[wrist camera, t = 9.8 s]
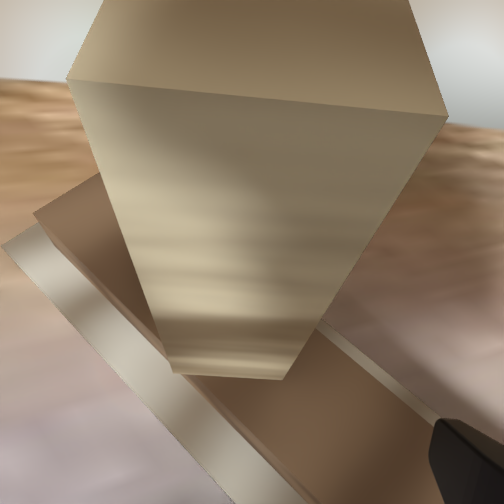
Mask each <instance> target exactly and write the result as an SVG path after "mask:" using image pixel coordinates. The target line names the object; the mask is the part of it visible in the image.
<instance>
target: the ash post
mask: <svg viewBox="0 0 504 504" xmlns="http://www.w3.org/2000/svg"><path fill="white" fill-rule="evenodd" d="M66 80H67V83H68V86H69V89H70V91H71V94H72V97H73V100H74V102H75V105H76V108H77V111H78V113H79V116H80V119H81V122H82V124H83V127H84V130H85V133H86V135H87V138H88V141H89V144H90V146H91V149H92V152H93V155H94V157H95V160H96V163H97V166H98V168H99V171H100V174H101V177H102V179H103V182H104V185H105V188H106V190H107V193H108V196H109V199H110V201H111V204H112V207H113V210H114V212H115V215H116V218H117V221H118V223H119V226H120V229H121V232H122V234H123V237H124V240H125V243H126V245H127V248H128V251H129V254H130V256H131V259H132V262H133V265H134V267H135V270H136V273H137V276H138V278H139V281H140V284H141V287H142V289H143V292H144V295H145V298H146V300H147V303H148V306H149V309H150V311H151V314H152V317H153V320H154V322H155V325H156V328H157V330H158V333H159V336H160V339H161V341H162V344H163V347H164V350H165V352H166V355H167V358H168V361H169V363H170V366H171V369H172V372H173V374H189V375H205V376H222V377H238V378H254V379H270V380H283V378H284V377H285V375H286V374H287V372H288V370H289V369H290V367H291V366H292V364H293V362H294V361H295V359H296V358H297V356H298V355H299V353H300V351H301V350H302V348H303V347H304V345H305V343H306V342H307V340H308V339H309V337H310V335H311V334H312V332H313V331H314V329H315V328H316V326H317V324H318V323H319V321H320V320H321V318H322V316H323V315H324V313H325V312H326V310H327V309H328V307H329V305H330V304H331V302H332V301H333V299H334V297H335V296H336V294H337V293H338V291H339V290H340V288H341V286H342V285H343V283H344V282H345V280H346V278H347V277H348V275H349V274H350V272H351V270H352V269H353V267H354V266H355V264H356V263H357V261H358V259H359V258H360V256H361V255H362V253H363V251H364V250H365V248H366V247H367V245H368V244H369V242H370V240H371V239H372V237H373V236H374V234H375V232H376V231H377V229H378V228H379V226H380V225H381V223H382V221H383V220H384V218H385V217H386V215H387V213H388V212H389V210H390V209H391V207H392V205H393V204H394V202H395V201H396V199H397V198H398V196H399V194H400V193H401V191H402V190H403V188H404V186H405V185H406V183H407V182H408V180H409V179H410V177H411V175H412V174H413V172H414V171H415V169H416V167H417V166H418V164H419V163H420V161H421V160H422V158H423V156H424V155H425V153H426V152H427V150H428V148H429V147H430V145H431V144H432V142H433V140H434V139H435V137H436V136H437V134H438V133H439V131H440V129H441V128H442V126H443V125H444V123H445V121H446V120H447V118H448V117H449V116H448V113H447V110H446V107H445V104H444V101H443V98H442V95H441V93H440V90H439V87H438V84H437V81H436V78H435V76H434V73H433V70H432V67H431V64H430V61H429V58H428V56H427V52H426V50H425V47H424V44H423V41H422V38H421V35H420V33H419V29H418V27H417V24H416V22H415V18H414V15H413V13H412V10H411V7H410V4H409V1H408V0H104V1H103V3H102V5H101V7H100V9H99V12H98V14H97V16H96V18H95V20H94V22H93V24H92V26H91V28H90V30H89V32H88V34H87V36H86V38H85V40H84V42H83V45H82V47H81V49H80V51H79V53H78V55H77V57H76V59H75V61H74V63H73V65H72V68H71V69H70V71H69V73H68V75H67V77H66Z"/></svg>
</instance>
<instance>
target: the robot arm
mask: <svg viewBox="0 0 504 504" xmlns="http://www.w3.org/2000/svg"><path fill="white" fill-rule="evenodd" d="M428 460H429V464H430V467H431V470H432V472H433V475H434V477H435V480H436V483H437V485H438V488H439V491H440V493H441V496H442V498H443V501H444V504H504V445H502V444H500V443H499V442H497V441H495V440H493V439H492V438H490V437H488V436H487V435H485V434H483V433H481V432H480V431H478V430H476V429H474V428H473V427H471V426H469V425H467V424H466V423H464V422H462V421H460V420H458V419H448V418H439V419H438V420H436V422H435V424H434V428H433V433H432V437H431V441H430V446H429V450H428Z"/></svg>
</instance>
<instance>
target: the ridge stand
mask: <svg viewBox="0 0 504 504" xmlns="http://www.w3.org/2000/svg"><path fill="white" fill-rule="evenodd" d="M33 214H34V216H35V217H36V219H37V220H38V223H36V224H35V225H33V226H32V227H30V228H28V229H27V230H25V231H24V232H22V233H20V234H19V235H17V236H16V237H14V238H12V239H11V240H9V241H8V242H6V243H5V244H3V245H1V247H2V248H3V249H4V250H5V252H6V253H7V254H8V255H9V256H10V257H11V258H12V259H13V260H14V262H15V263H16V264H17V265H18V266H19V267H20V268H21V269H22V270H23V271H24V273H25V274H26V275H27V276H28V277H29V278H30V279H31V280H32V281H33V282H34V283H35V285H36V286H37V287H38V288H39V289H40V290H41V291H42V292H43V293H44V294H45V296H46V297H47V298H48V299H49V300H50V301H51V302H52V303H53V304H54V305H55V306H56V308H57V309H58V310H59V311H60V312H61V313H62V314H63V315H64V316H65V317H66V318H67V320H68V321H69V322H70V323H71V324H72V325H73V326H74V327H75V328H76V329H77V331H78V332H79V333H80V334H81V335H82V336H83V337H84V338H85V339H86V340H87V341H88V343H89V344H90V345H91V346H92V347H93V348H94V349H95V350H96V351H97V352H98V354H99V355H100V356H101V357H102V358H103V359H104V360H105V361H106V362H107V363H108V364H109V366H110V367H111V368H112V369H113V370H114V371H115V372H116V373H117V374H118V375H119V377H120V378H121V379H122V380H123V381H124V382H125V383H126V384H127V385H128V386H129V387H130V389H131V390H132V391H133V392H134V393H135V394H136V395H137V396H138V397H139V398H140V400H141V401H142V402H143V403H144V404H145V405H146V406H147V407H148V408H149V409H150V410H151V412H152V413H153V414H154V415H155V416H156V417H157V418H158V419H159V420H160V421H161V422H162V424H163V425H164V426H165V427H166V428H167V429H168V430H169V431H170V432H171V433H172V435H173V436H174V437H175V438H176V439H177V440H178V441H179V442H180V443H181V444H182V445H183V447H184V448H185V449H186V450H187V451H188V452H189V453H190V454H191V455H192V456H193V458H194V459H195V460H196V461H197V462H198V463H199V464H200V465H201V466H202V467H203V468H204V470H205V471H206V472H207V473H208V474H209V475H210V476H211V477H212V478H213V479H214V481H215V482H216V483H217V484H218V485H219V486H220V487H221V488H222V489H223V490H224V491H225V493H226V494H227V495H228V496H229V497H230V498H231V499H232V500H233V501H234V502H235V503H236V504H444V501H443V498H442V496H441V493H440V491H439V488H438V485H437V483H436V480H435V477H434V475H433V472H432V470H431V467H430V464H429V460H428V450H429V446H430V441H431V437H432V433H433V428H434V424H435V422H436V420H438V419H439V418H441V417H440V416H439V415H438V414H437V413H435V412H434V411H433V410H432V409H430V408H429V407H428V406H427V405H426V404H424V403H423V402H422V401H421V400H420V399H418V398H417V397H416V396H415V395H413V394H412V393H411V392H410V391H409V390H407V389H406V388H405V387H404V386H402V385H401V384H400V383H399V382H398V381H396V380H395V379H394V378H393V377H392V376H390V375H389V374H388V373H387V372H385V371H384V370H383V369H382V368H381V367H379V366H378V365H377V364H376V363H374V362H373V361H372V360H371V359H370V358H368V357H367V356H366V355H365V354H364V353H362V352H361V351H360V350H359V349H357V348H356V347H355V346H354V345H353V344H351V343H350V342H349V341H348V340H346V339H345V338H344V337H343V336H342V335H340V334H339V333H338V332H337V331H336V330H334V329H333V328H332V327H331V326H329V325H328V324H327V323H326V322H325V321H323V320H322V319H321V320H320V321H319V323H318V324H317V326H316V328H315V329H314V331H313V332H312V334H311V335H310V337H309V339H308V340H307V342H306V343H305V345H304V347H303V348H302V350H301V351H300V353H299V355H298V356H297V358H296V359H295V361H294V362H293V364H292V366H291V367H290V369H289V370H288V372H287V374H286V375H285V377H284V378H283V380H270V379H254V378H238V377H222V376H205V375H189V374H173V372H172V369H171V366H170V363H169V361H168V358H167V355H166V352H165V350H164V347H163V344H162V341H161V339H160V336H159V333H158V330H157V328H156V325H155V322H154V320H153V317H152V314H151V311H150V309H149V306H148V303H147V300H146V298H145V295H144V292H143V289H142V287H141V284H140V281H139V278H138V276H137V273H136V270H135V267H134V265H133V262H132V259H131V256H130V254H129V251H128V248H127V245H126V243H125V240H124V237H123V234H122V232H121V229H120V226H119V223H118V221H117V218H116V215H115V212H114V210H113V207H112V204H111V201H110V199H109V196H108V193H107V190H106V188H105V185H104V182H103V179H102V177H101V174H100V172H99V173H98V174H96V175H94V176H93V177H91V178H89V179H88V180H86V181H84V182H83V183H81V184H80V185H78V186H76V187H75V188H73V189H71V190H70V191H68V192H66V193H65V194H63V195H62V196H60V197H58V198H57V199H55V200H53V201H52V202H50V203H48V204H47V205H45V206H44V207H42V208H40V209H39V210H37V211H35V212H34V213H33Z"/></svg>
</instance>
